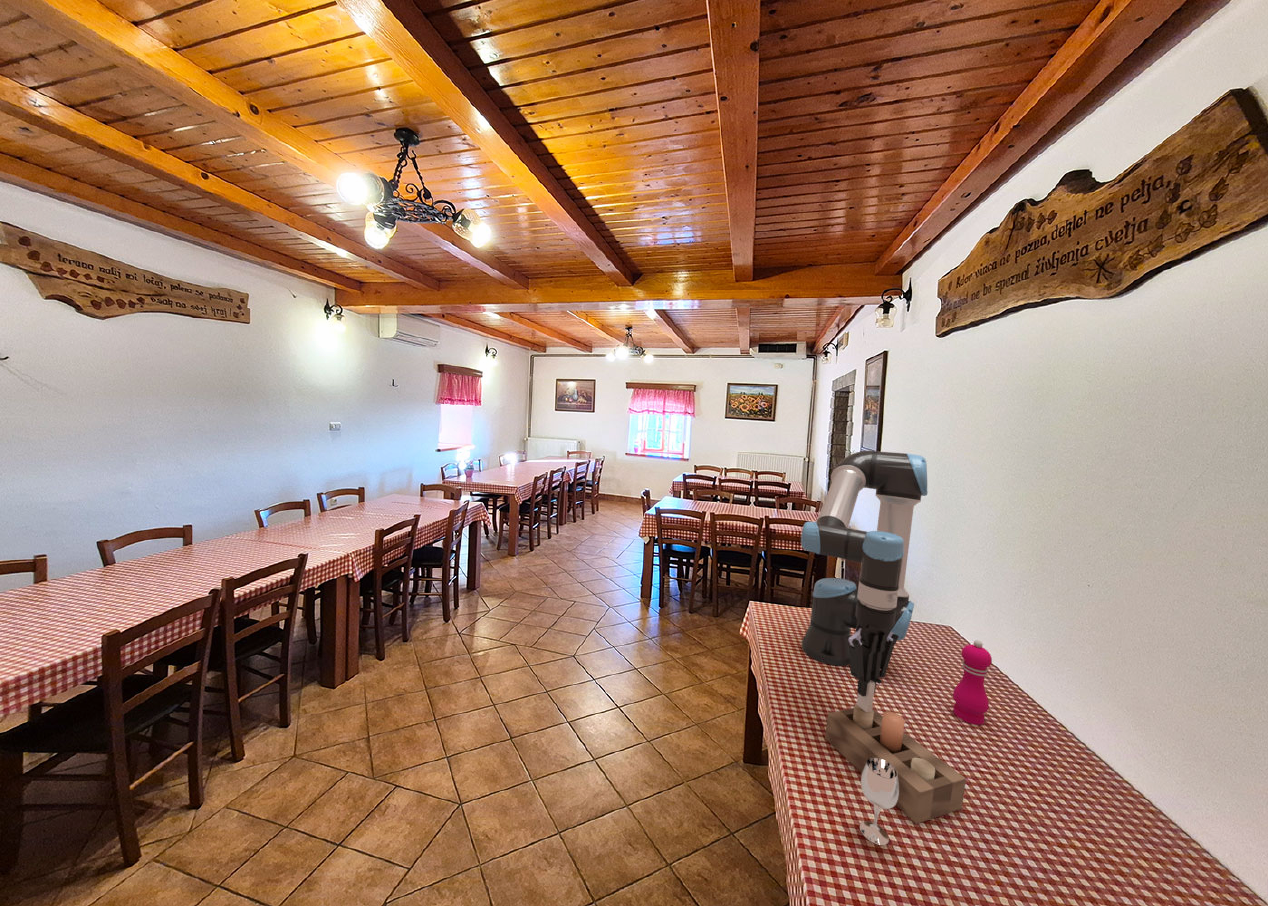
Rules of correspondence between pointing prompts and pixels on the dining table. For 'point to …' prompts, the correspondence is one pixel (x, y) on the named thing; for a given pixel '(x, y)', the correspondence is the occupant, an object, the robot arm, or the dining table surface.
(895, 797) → the wineglass
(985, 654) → the pepper mill
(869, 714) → the far beech plug
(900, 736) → the rust plug
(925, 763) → the near beech plug
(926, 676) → the dining table surface
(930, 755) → the walnut socket block
